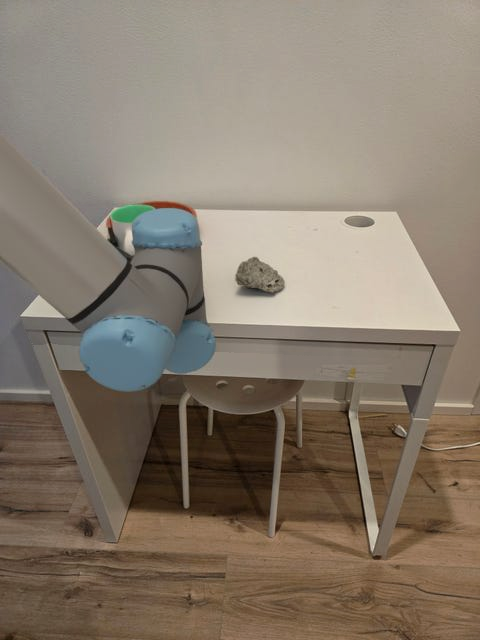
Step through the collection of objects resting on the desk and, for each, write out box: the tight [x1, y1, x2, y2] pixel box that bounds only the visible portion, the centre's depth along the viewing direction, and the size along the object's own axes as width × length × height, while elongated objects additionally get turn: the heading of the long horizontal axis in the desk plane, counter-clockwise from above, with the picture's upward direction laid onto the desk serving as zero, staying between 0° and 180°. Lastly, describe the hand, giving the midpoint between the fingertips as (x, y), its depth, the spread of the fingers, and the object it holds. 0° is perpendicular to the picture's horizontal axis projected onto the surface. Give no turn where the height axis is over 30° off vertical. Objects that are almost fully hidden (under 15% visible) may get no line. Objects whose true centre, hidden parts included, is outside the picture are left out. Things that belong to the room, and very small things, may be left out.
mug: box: [109, 204, 155, 256], centre depth 78 cm, size 12×8×10 cm, turn 6°
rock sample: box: [234, 256, 285, 294], centre depth 83 cm, size 10×8×9 cm
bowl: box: [105, 200, 198, 239], centre depth 102 cm, size 21×21×4 cm
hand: (134, 230), depth 81 cm, fingers closed on mug, 8 cm apart
